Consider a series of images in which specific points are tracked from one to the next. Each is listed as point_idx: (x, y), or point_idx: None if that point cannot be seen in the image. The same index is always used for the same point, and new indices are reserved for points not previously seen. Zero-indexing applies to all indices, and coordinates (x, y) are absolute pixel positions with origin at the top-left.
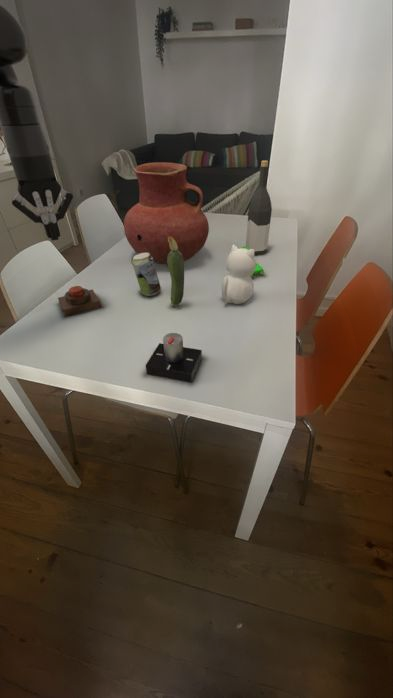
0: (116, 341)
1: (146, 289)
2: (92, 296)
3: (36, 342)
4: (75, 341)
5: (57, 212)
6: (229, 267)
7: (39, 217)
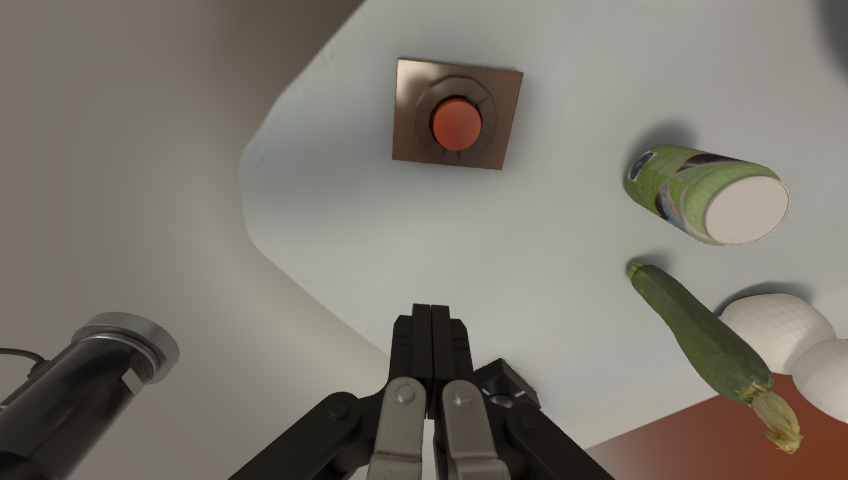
0: (456, 303)
1: (639, 201)
2: (497, 130)
3: (310, 222)
4: (387, 263)
5: (511, 456)
6: (811, 375)
7: (366, 461)
